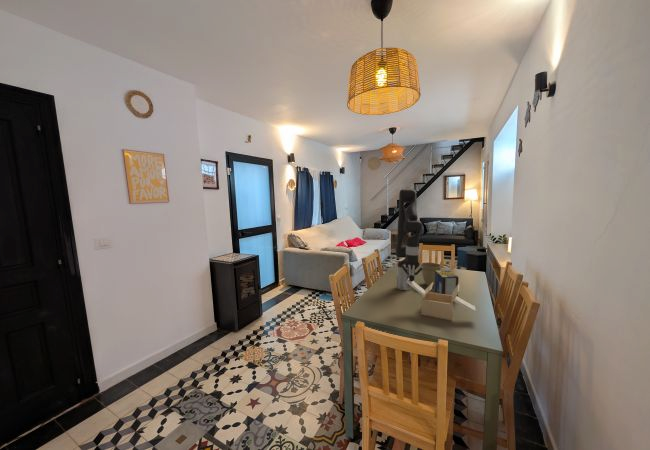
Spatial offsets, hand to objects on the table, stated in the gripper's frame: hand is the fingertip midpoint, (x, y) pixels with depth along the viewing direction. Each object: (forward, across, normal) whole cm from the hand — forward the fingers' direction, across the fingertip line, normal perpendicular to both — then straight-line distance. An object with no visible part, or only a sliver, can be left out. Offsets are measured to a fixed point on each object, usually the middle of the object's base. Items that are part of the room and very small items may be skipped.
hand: (411, 280), depth 155 cm
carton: (+18, +15, 0) cm, 23 cm away
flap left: (+4, +10, 0) cm, 11 cm away
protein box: (+18, +18, +33) cm, 42 cm away
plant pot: (+18, +6, +51) cm, 54 cm away
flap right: (+3, +24, 0) cm, 24 cm away
